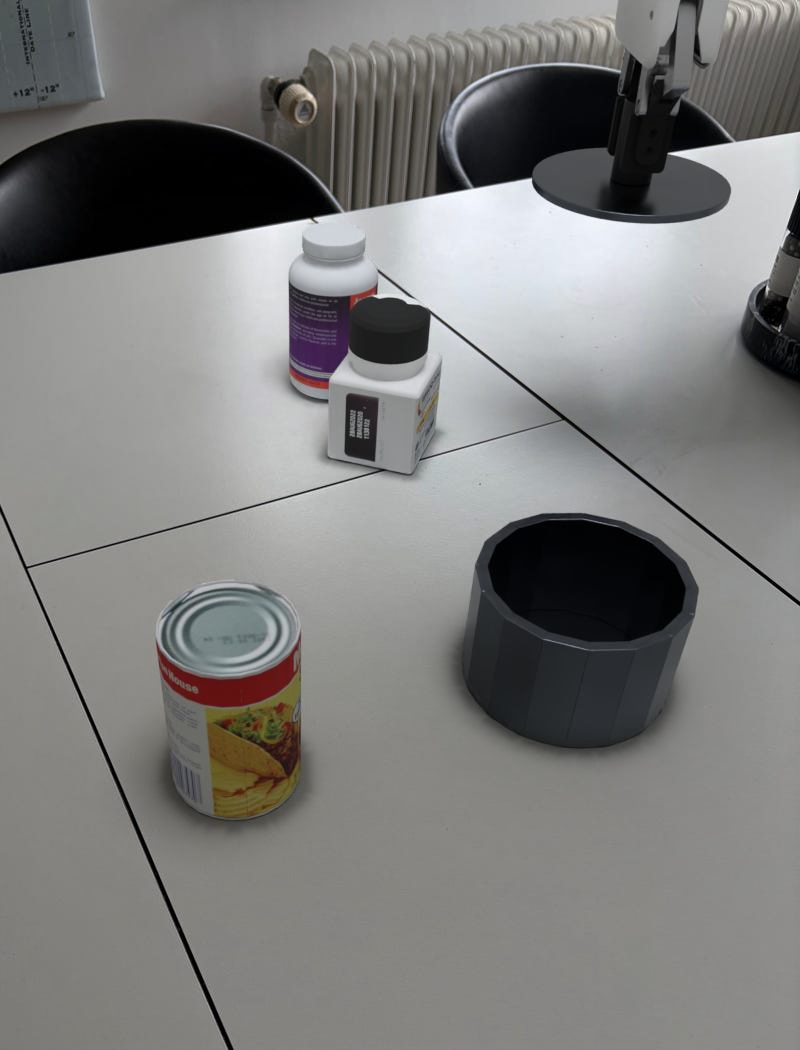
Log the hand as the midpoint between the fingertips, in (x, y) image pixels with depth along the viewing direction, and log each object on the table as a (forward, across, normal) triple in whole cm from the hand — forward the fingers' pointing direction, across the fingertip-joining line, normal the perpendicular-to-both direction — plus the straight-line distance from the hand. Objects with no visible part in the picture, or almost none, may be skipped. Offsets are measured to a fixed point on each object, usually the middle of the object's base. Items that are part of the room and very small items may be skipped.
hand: (634, 160), depth 77 cm
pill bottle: (+24, +10, +22) cm, 34 cm away
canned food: (+24, -38, +29) cm, 54 cm away
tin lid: (+2, 0, 0) cm, 2 cm away
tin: (+24, -30, +8) cm, 39 cm away
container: (+24, -1, +18) cm, 30 cm away
